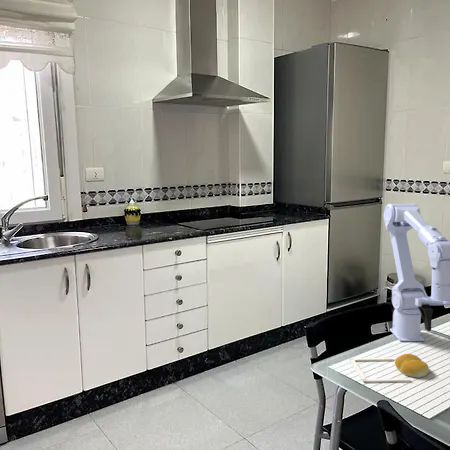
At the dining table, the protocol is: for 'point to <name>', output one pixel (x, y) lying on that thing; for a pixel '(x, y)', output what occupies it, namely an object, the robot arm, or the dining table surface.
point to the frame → (375, 379)
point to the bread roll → (411, 365)
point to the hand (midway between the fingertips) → (441, 329)
